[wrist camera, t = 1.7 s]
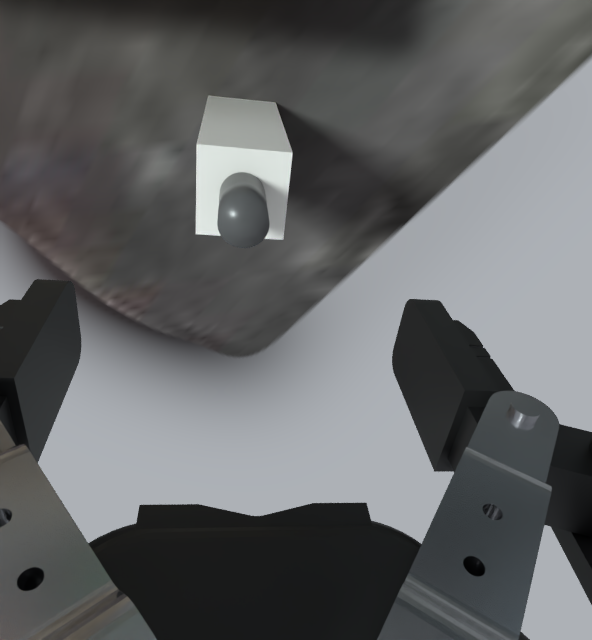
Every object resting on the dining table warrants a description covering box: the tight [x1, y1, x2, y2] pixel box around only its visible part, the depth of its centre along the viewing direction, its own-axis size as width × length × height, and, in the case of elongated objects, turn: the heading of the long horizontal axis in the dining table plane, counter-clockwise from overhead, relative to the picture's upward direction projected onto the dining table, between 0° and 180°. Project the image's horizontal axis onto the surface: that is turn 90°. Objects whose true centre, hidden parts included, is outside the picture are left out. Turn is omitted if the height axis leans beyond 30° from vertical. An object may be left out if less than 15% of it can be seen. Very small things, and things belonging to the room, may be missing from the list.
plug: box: [196, 96, 293, 248], centre depth 23 cm, size 4×4×13 cm
